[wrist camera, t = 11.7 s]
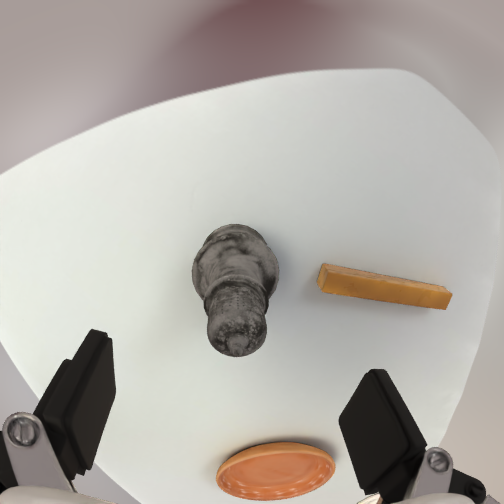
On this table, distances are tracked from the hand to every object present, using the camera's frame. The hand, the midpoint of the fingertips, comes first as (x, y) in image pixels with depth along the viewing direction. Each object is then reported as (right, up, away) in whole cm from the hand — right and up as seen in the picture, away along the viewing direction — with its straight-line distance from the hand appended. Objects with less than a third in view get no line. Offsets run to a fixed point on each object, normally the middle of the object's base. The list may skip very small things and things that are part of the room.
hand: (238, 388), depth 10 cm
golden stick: (+13, +2, +16) cm, 20 cm away
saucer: (+4, -24, +25) cm, 35 cm away
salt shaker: (-1, +4, +14) cm, 15 cm away
